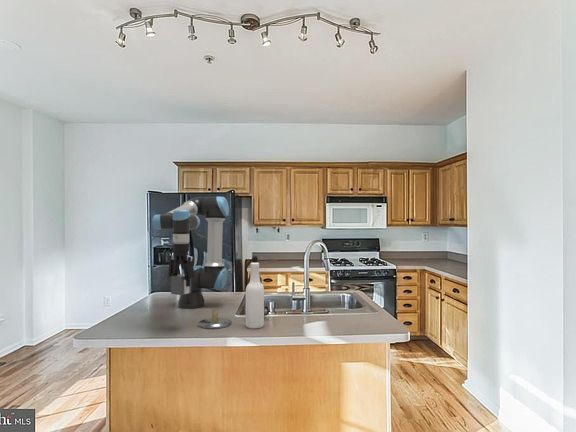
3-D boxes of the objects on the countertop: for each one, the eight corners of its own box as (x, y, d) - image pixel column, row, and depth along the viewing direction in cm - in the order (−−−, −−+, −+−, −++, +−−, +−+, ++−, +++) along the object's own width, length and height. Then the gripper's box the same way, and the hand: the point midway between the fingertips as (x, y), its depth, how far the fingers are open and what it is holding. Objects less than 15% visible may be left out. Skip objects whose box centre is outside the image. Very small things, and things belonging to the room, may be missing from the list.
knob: (170, 293, 170) (171, 274, 170) (181, 291, 175) (181, 272, 175) (181, 295, 167) (181, 275, 167) (191, 292, 172) (191, 273, 172)
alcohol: (246, 323, 179) (247, 261, 180) (264, 323, 179) (265, 262, 180) (244, 328, 170) (244, 264, 171) (263, 329, 170) (263, 264, 171)
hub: (192, 323, 179) (192, 309, 179) (221, 318, 189) (221, 304, 189) (207, 331, 167) (207, 315, 167) (238, 324, 177) (238, 310, 177)
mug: (265, 323, 180) (265, 304, 181) (243, 320, 184) (243, 302, 184) (272, 318, 189) (272, 300, 189) (251, 316, 193) (251, 299, 193)
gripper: (160, 242, 173) (159, 292, 172) (190, 244, 163) (190, 296, 163) (172, 242, 179) (172, 289, 179) (202, 243, 170) (202, 293, 169)
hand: (180, 292), depth 171 cm, fingers closed on knob, 6 cm apart
